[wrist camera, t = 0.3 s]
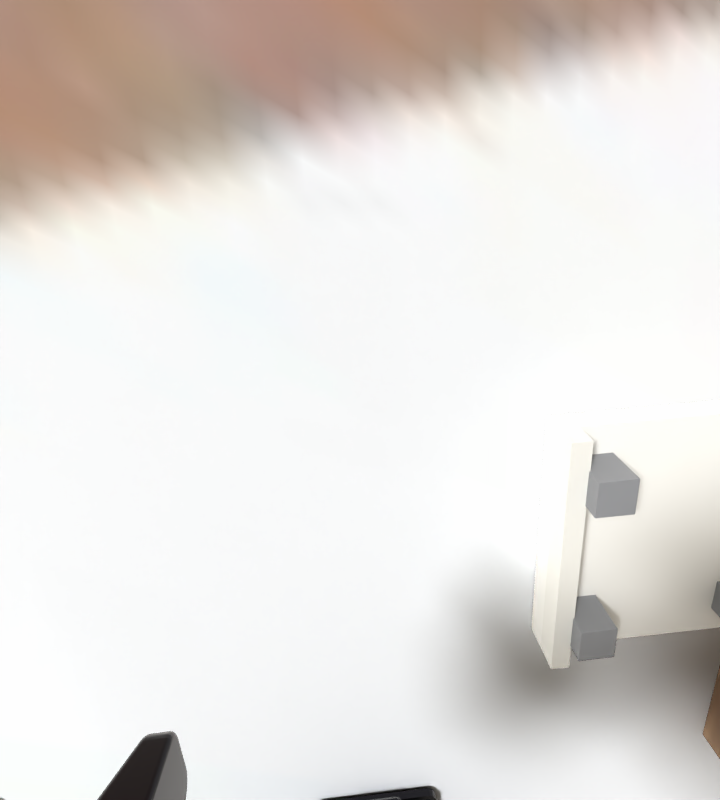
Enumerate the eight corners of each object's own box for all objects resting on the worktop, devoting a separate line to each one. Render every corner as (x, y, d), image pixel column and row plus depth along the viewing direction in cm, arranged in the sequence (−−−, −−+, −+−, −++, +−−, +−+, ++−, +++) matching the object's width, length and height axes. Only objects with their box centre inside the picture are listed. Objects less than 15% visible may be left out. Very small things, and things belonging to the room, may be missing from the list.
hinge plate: (735, 605, 28) (786, 658, 25) (531, 627, 27) (558, 684, 24) (788, 393, 23) (857, 427, 20) (546, 415, 23) (581, 453, 20)
